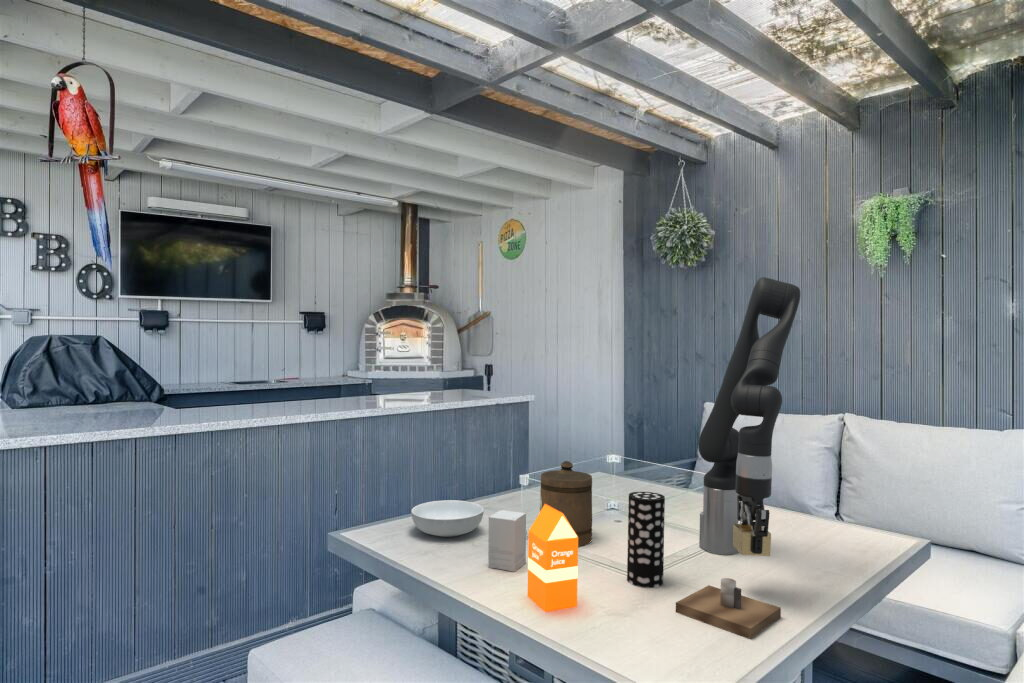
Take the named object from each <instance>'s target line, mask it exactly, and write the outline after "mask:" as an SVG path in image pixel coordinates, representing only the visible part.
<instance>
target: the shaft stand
mask: <svg viewBox="0 0 1024 683" xmlns="http://www.w3.org/2000/svg"><path fill="white" fill-rule="evenodd" d="M675 613H677V614H680V615H682V616H686V617H688V618H691V619H694V620H697V621H700V622H702V623H703V624H708V625H711V626H714V627H717V628H718V629H722V630H724V631H727V632H730V633H732V634H735V635H738V636H741V637H744V638H747V639H750V640H751V639H752V638H754V637H756V636H757V635H758V634H760V633H761V632H763V630H765V629H766V628H768V627H769V626H771V625H772V624H773V623H775V622H776V621H777V620H779V619H781V615H782V608H781V607H780V606H777V605H773V604H770V603H767V602H764V601H760V600H758V599H755V598H752V597H748V596H745V595H742V588H740V587H737V581H736V580H735V579H733V578H727V577H724V578H723V577H722V578H721V579H720V587H715V586H713V585H710V584H708V585H706V586H704V587H702V588H700V589H699V590H697V591H694V592H693V593H691V594H690V595H687V596H685V597H683V598H682V599H680V600H678V601H676V602H675Z"/></svg>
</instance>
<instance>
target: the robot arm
mask: <svg viewBox="0 0 1024 683" xmlns="http://www.w3.org/2000/svg"><path fill="white" fill-rule="evenodd" d="M800 301H801V289H800V287H799V286H798V285H795V284H793V283H789V282H784V281H781V280H776V279H773V278H769V277H766V276H765V277H764V276H762V277H760V278H759V279H757V281H756V282H755V284H754V286H753V289H752V291H751V294H750V298H749V302H748V304H747V308H746V312H745V315H744V318H743V322H742V326H741V329H740V331H739V332H740V333H739V335H738V339H737V341H736V344H735V346H734V349H733V351H732V354H731V357H730V358H729V361H728V363H727V364H728V365H727V368H726V370H725V373H724V377H723V379H722V383H721V385H720V389H719V391H718V394H717V396H716V398H715V401H714V404H713V407H712V409H711V412H710V413H709V416H708V418H707V420H706V422H705V423H704V427H702V430H701V432H700V435H699V438H698V444H697V445H698V452H699V455H700V457H701V458H702V459H703V460H704V461H706V463H707V462H708V463H713V465H712V467H711V468H710V470H708V472H706V473H705V474H704V476H703V490H702V492H703V494H702V495H703V497H702V500H703V501H702V502H703V503H702V504H703V506H702V510H703V511H702V512H700V513H699V535H698V536H699V539H698V541H699V545H698V546H699V548H700V549H702V550H704V551H706V552H709V553H712V554H716V555H727V556H728V555H729V556H730V555H735V554H737V553H738V550H737V549H736V548H735V547H734V546H733V526H734V524H748V525H749V526H750V527H751V535H752V539H751V552H752V553H754V554H761V553H762V544H763V537H767V536H768V531H769V524H770V523H769V522H770V512H771V511H770V510H769V509H765V505H764V499H768V498H770V497H771V495H772V482H773V481H772V479H773V478H772V477H773V462H772V450H773V449H772V448H773V446H772V444H773V443H772V442H773V434H774V429H775V425H776V422H777V418H778V417H779V413H780V411H781V409H782V404H783V396H782V393H781V391H780V389H778V388H777V387H776V386H773V384H774V383H776V382H777V381H778V377H779V374H780V367H781V362H782V357H783V353H784V349H785V346H786V344H787V343H786V342H787V341H788V338H789V335H790V333H791V329H792V327H793V323H794V321H795V318H796V316H797V315H796V314H797V311H798V308H799V305H800ZM760 315H763V316H766V317H770V318H773V319H777V320H778V322H777V324H776V325H775V326H774V327H772V328H771V329H770V330H769V331H768V332H766V333H765V334H763V335H762V336H760V335H759V328H758V324H759V323H758V321H759V320H758V319H759V317H760ZM739 416H746V417H747V416H749V417H759V418H762V421H761V423H760V424H758V425H748V426H743V427H741V428H740V429H739V430H737V429H736V428H735V427H733V426H734V425H735V422H736V421H737V419H738V417H739ZM759 527H760V531H759Z"/></svg>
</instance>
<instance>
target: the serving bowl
mask: <svg viewBox="0 0 1024 683" xmlns="http://www.w3.org/2000/svg"><path fill="white" fill-rule="evenodd" d="M484 511H485V510H484V507H483V505H481V504H478V503H476V502H471V501H468V500H467V501H465V500H457V499H456V500H455V499H449V500H448V499H447V500H434V501H433V500H432V501H427V502H423V503H419V504H417V505H416V506H413V508H412V509H411V510H410V514H411V518H412V522H413V524H414V525H415V526H416V527H417V529H418V530H420V531H421V532H422V533H425V534H427V535H431V536H437V537H440V538H441V537H442V538H452V537H457V536H460V535H465V534H468V533H470V532H472V531H474V530H475V529H476V528H478V526H479V525H480V523H481V521H482V519H483V517H484Z"/></svg>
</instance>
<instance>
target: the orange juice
mask: <svg viewBox="0 0 1024 683" xmlns="http://www.w3.org/2000/svg"><path fill="white" fill-rule="evenodd" d="M527 548H528V549H527V551H528V553H527V597H528V598H529V599H530V600H531V601H532V602H533V603H535V605H537V606H538V607H539V608H540V609H541V610H542V611H543V612H545V613H549V612H554V611H559V610H565V609H572V608H577V607H578V578H579V573H578V572H579V562H578V561H579V547H578V536H577V535H576V533H575V532H574V530H573V528H572V527H571V525H570V524H569V522H568V521H567V519H566V517H565V516H564V514H563V513H561V512H560V511H558V510H556V509H554V508H552V507H550V506H549V505H547V504H545V505H544V506H543V508H542V510H541V511H540V510H539V513H538V515H537V517H536V518H535V520H534V521H533V522H532V524H531V526H530V527H529V529H528V547H527Z"/></svg>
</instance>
